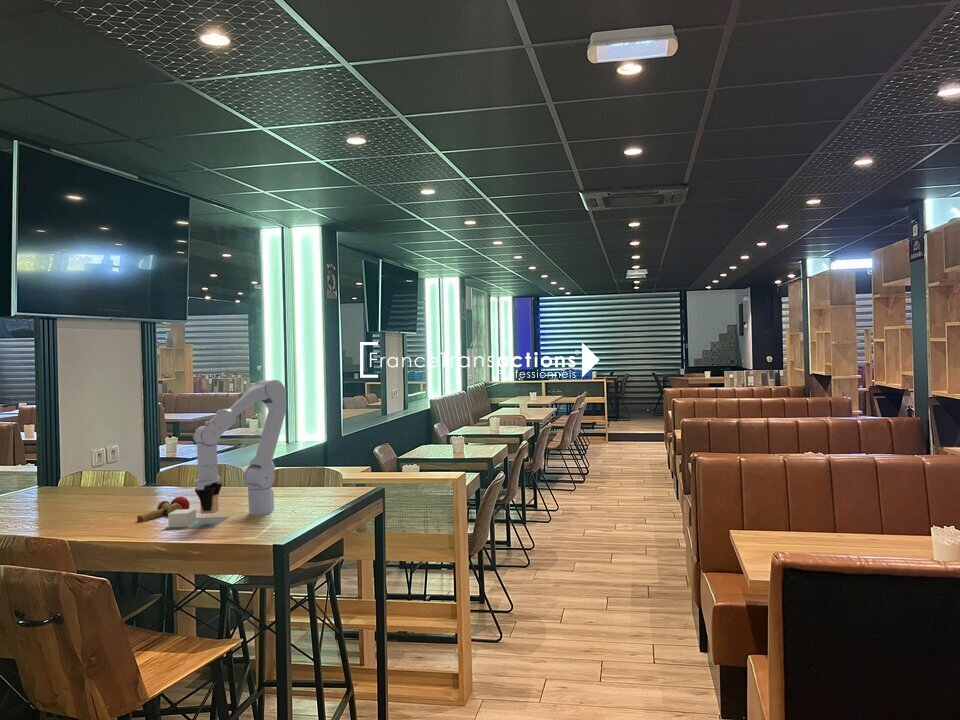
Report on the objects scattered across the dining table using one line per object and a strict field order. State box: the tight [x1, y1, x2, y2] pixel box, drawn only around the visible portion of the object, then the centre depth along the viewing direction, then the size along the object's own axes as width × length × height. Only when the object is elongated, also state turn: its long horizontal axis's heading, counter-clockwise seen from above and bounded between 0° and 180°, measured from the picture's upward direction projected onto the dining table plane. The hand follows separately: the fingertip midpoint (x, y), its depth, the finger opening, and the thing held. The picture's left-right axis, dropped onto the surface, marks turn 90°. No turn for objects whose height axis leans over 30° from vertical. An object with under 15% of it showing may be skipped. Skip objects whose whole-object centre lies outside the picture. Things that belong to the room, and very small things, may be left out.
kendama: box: [136, 496, 190, 523], centre depth 236 cm, size 8×6×18 cm
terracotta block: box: [199, 494, 220, 515], centre depth 223 cm, size 4×4×5 cm
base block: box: [167, 508, 197, 527], centre depth 222 cm, size 6×6×4 cm
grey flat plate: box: [161, 516, 230, 531], centre depth 223 cm, size 16×15×1 cm
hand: (209, 509), depth 223 cm, fingers closed on terracotta block, 4 cm apart
